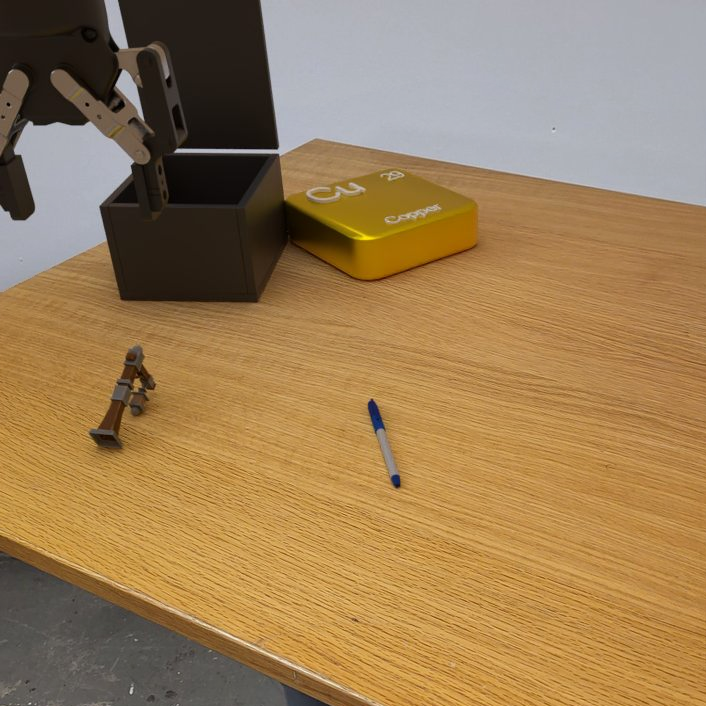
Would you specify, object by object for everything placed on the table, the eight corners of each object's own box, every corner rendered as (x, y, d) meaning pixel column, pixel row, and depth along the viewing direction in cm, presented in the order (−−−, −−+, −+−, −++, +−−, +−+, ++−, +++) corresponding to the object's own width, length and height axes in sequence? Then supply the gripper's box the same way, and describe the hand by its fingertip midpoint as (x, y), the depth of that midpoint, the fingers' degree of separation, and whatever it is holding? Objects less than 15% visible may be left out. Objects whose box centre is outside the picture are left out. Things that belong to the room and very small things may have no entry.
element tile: (364, 285, 87) (361, 236, 84) (281, 237, 96) (275, 192, 93) (486, 244, 94) (487, 198, 91) (398, 203, 104) (396, 160, 101)
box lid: (255, -25, 80) (267, -39, 84) (112, -25, 81) (130, -38, 85) (278, 150, 90) (288, 130, 94) (150, 148, 91) (165, 129, 95)
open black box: (257, 302, 84) (244, 208, 79) (120, 300, 85) (98, 206, 79) (289, 238, 96) (279, 153, 91) (168, 237, 96) (152, 152, 91)
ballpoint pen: (364, 407, 70) (363, 396, 69) (375, 406, 70) (375, 394, 69) (393, 490, 62) (393, 478, 61) (406, 488, 62) (406, 476, 61)
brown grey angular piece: (167, 376, 72) (146, 340, 68) (134, 466, 68) (111, 433, 64) (144, 374, 72) (123, 338, 68) (111, 464, 68) (86, 431, 64)
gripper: (166, -76, 54) (210, 196, 63) (-74, -73, 55) (6, 196, 64) (123, -59, 48) (180, 240, 57) (-146, -56, 49) (-46, 238, 58)
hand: (88, 216), depth 61 cm, fingers open, 8 cm apart
